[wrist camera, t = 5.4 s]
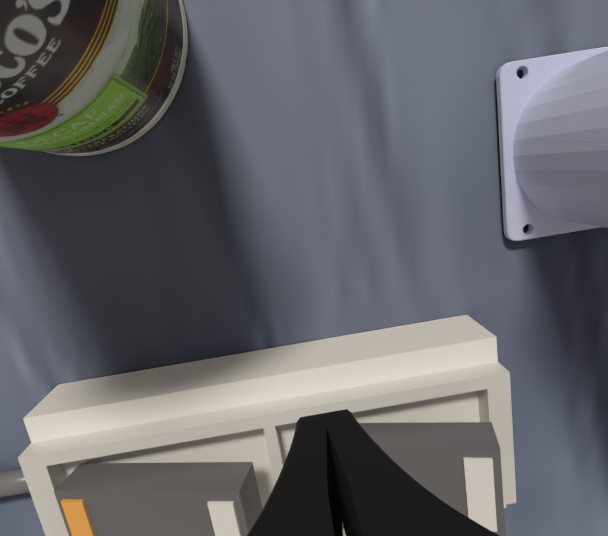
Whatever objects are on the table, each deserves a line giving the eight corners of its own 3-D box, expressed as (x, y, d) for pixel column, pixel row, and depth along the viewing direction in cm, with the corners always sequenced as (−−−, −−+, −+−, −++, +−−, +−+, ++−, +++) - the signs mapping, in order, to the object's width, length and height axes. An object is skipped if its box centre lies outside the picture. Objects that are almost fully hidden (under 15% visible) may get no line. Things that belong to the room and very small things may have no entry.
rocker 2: (491, 422, 17) (500, 450, 15) (496, 505, 18) (506, 541, 16) (299, 423, 19) (290, 448, 17) (313, 498, 20) (305, 528, 18)
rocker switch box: (466, 314, 21) (508, 346, 18) (477, 466, 23) (517, 524, 20) (-63, 405, 21) (-141, 458, 17) (-4, 552, 23) (-62, 629, 19)
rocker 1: (252, 461, 17) (238, 495, 15) (269, 543, 18) (258, 582, 16) (80, 463, 19) (51, 493, 17) (104, 537, 19) (78, 572, 18)
